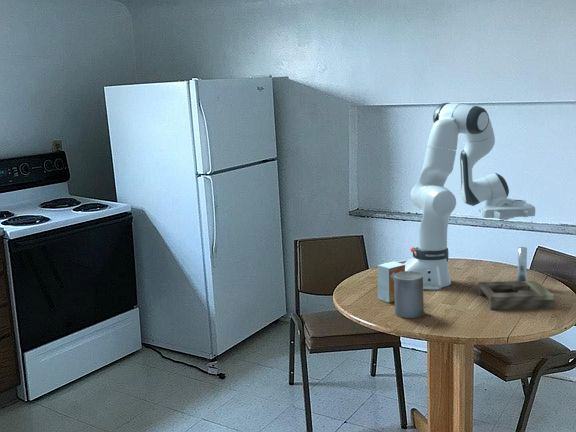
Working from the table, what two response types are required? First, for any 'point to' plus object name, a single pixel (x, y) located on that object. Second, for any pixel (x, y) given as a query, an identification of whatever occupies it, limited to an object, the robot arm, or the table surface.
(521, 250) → the footed peg
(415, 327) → the table surface
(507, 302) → the keyhole plate
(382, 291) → the small box
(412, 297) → the pillar candle
